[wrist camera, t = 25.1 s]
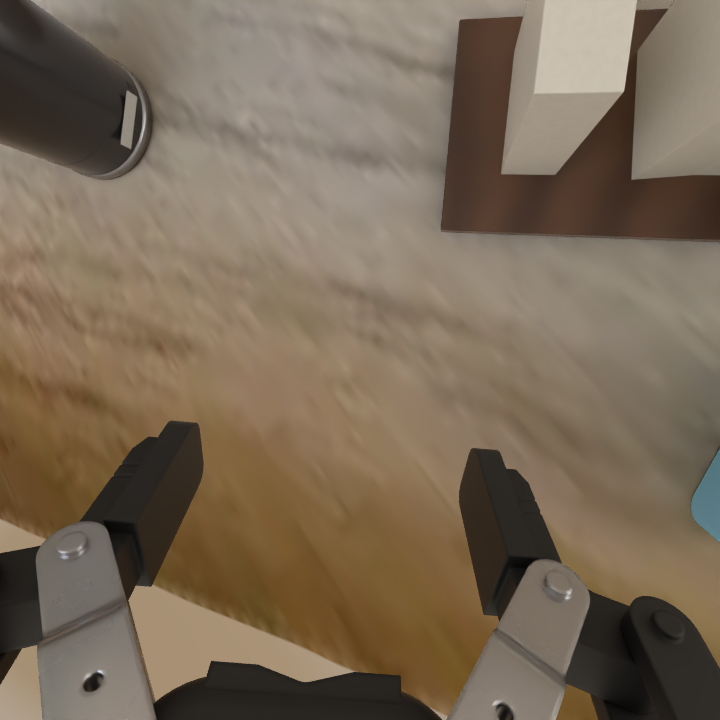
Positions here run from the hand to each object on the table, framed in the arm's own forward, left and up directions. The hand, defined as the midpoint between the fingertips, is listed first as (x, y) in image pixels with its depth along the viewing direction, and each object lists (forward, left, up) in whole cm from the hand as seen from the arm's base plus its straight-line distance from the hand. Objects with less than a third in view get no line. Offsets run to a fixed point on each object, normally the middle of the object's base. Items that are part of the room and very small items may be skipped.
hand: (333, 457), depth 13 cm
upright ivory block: (+7, +18, -21) cm, 29 cm away
